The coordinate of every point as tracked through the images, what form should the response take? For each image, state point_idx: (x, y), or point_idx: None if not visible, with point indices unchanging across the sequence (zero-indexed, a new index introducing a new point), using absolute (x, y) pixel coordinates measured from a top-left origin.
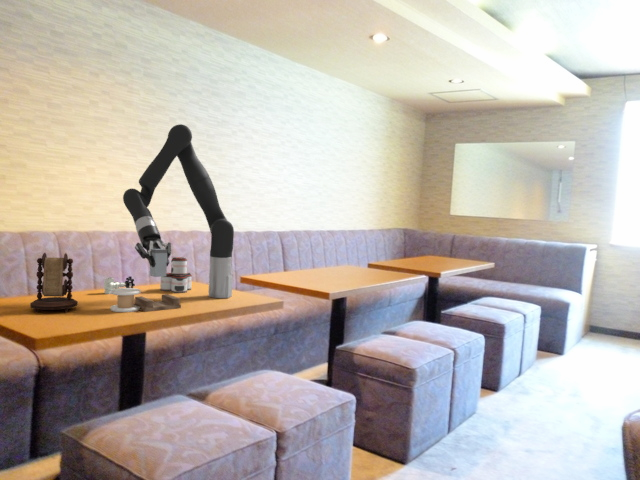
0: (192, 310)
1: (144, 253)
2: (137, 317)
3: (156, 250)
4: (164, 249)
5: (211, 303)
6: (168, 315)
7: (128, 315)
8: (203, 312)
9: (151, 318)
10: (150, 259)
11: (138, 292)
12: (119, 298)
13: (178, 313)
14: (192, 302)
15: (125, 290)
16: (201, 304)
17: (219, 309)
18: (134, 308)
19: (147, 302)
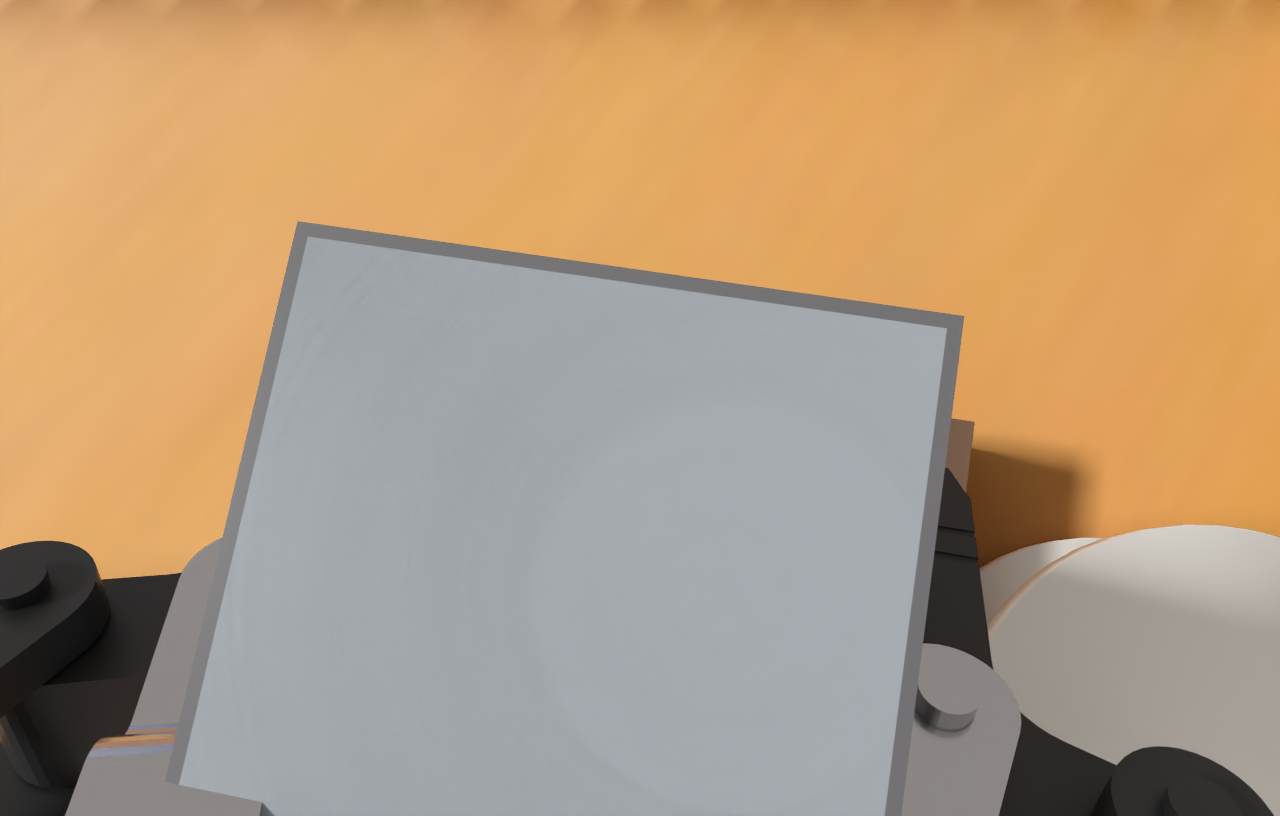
0: (466, 175)
1: (1250, 812)
2: (1200, 224)
3: (895, 318)
4: (374, 356)
5: (6, 378)
6: (851, 111)
7: (1236, 381)
8: (446, 19)
9: (1094, 91)
10: (966, 586)
11: (1080, 550)
12: None
13: (696, 134)
14: None
15: (1241, 761)
16: (140, 402)
17: (200, 44)
18: (1069, 546)
19: (956, 422)
